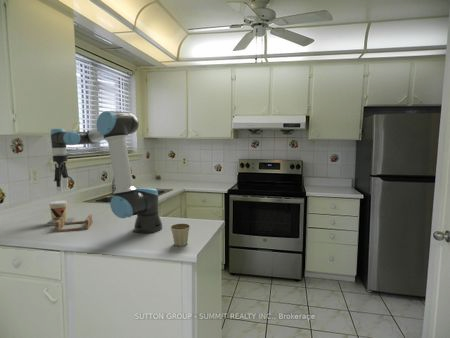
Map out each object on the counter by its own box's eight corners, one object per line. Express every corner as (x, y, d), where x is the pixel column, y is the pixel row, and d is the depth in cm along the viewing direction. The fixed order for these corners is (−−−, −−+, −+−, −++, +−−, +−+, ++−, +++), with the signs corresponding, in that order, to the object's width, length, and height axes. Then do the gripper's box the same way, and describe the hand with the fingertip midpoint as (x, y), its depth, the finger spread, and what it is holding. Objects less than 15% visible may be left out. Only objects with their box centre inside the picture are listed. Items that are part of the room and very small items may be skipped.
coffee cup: (49, 224, 173) (48, 204, 171) (52, 220, 181) (50, 201, 180) (67, 222, 176) (66, 202, 175) (69, 218, 185) (67, 199, 183)
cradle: (88, 229, 165) (87, 220, 164) (55, 232, 161) (54, 223, 160) (92, 221, 179) (92, 213, 179) (62, 224, 175) (62, 216, 175)
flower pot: (179, 249, 135) (178, 230, 134) (166, 244, 141) (166, 226, 140) (194, 243, 142) (194, 226, 141) (181, 239, 148) (181, 222, 147)
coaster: (68, 224, 174) (68, 223, 174) (44, 226, 171) (44, 225, 171) (74, 218, 187) (74, 217, 187) (51, 220, 183) (51, 219, 183)
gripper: (61, 155, 164) (64, 193, 167) (71, 153, 188) (74, 186, 191) (46, 156, 162) (49, 194, 165) (58, 154, 186) (61, 187, 189)
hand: (62, 190), depth 178 cm, fingers open, 13 cm apart
